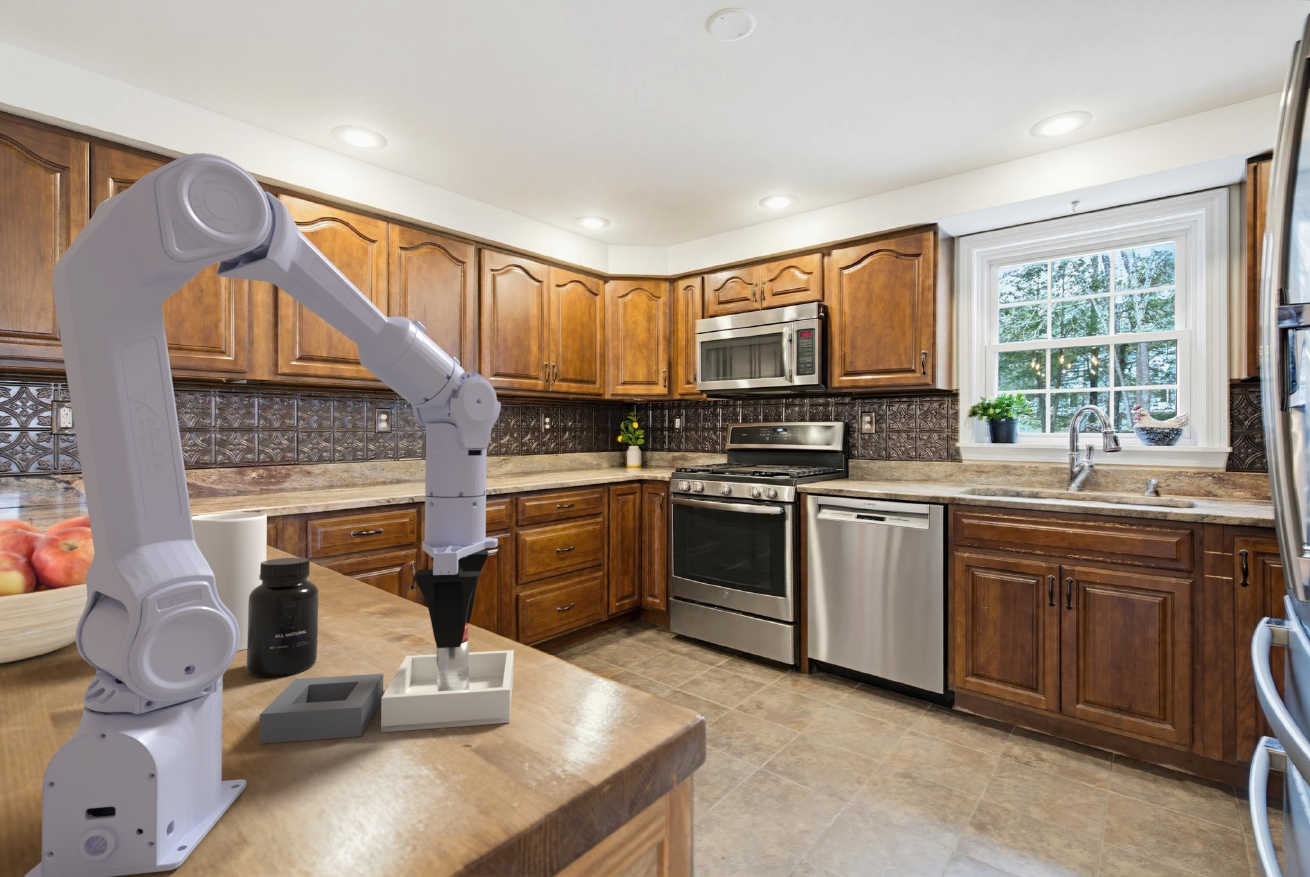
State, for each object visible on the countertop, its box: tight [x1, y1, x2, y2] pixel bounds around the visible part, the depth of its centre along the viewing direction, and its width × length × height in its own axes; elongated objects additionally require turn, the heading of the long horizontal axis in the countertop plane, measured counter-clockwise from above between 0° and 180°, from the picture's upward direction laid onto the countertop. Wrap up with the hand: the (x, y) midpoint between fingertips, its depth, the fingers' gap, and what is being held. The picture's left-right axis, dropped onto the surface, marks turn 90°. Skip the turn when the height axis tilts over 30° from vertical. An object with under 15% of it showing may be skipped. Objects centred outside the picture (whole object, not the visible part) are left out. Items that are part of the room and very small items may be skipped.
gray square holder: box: [259, 673, 384, 745], centre depth 58 cm, size 8×8×2 cm
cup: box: [191, 511, 268, 652], centre depth 79 cm, size 8×8×16 cm
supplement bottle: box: [246, 557, 319, 678], centre depth 71 cm, size 7×7×12 cm
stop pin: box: [435, 622, 470, 691], centre depth 62 cm, size 3×3×7 cm
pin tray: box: [380, 649, 515, 733], centre depth 62 cm, size 11×11×3 cm
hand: (454, 633), depth 62 cm, fingers open, 7 cm apart
